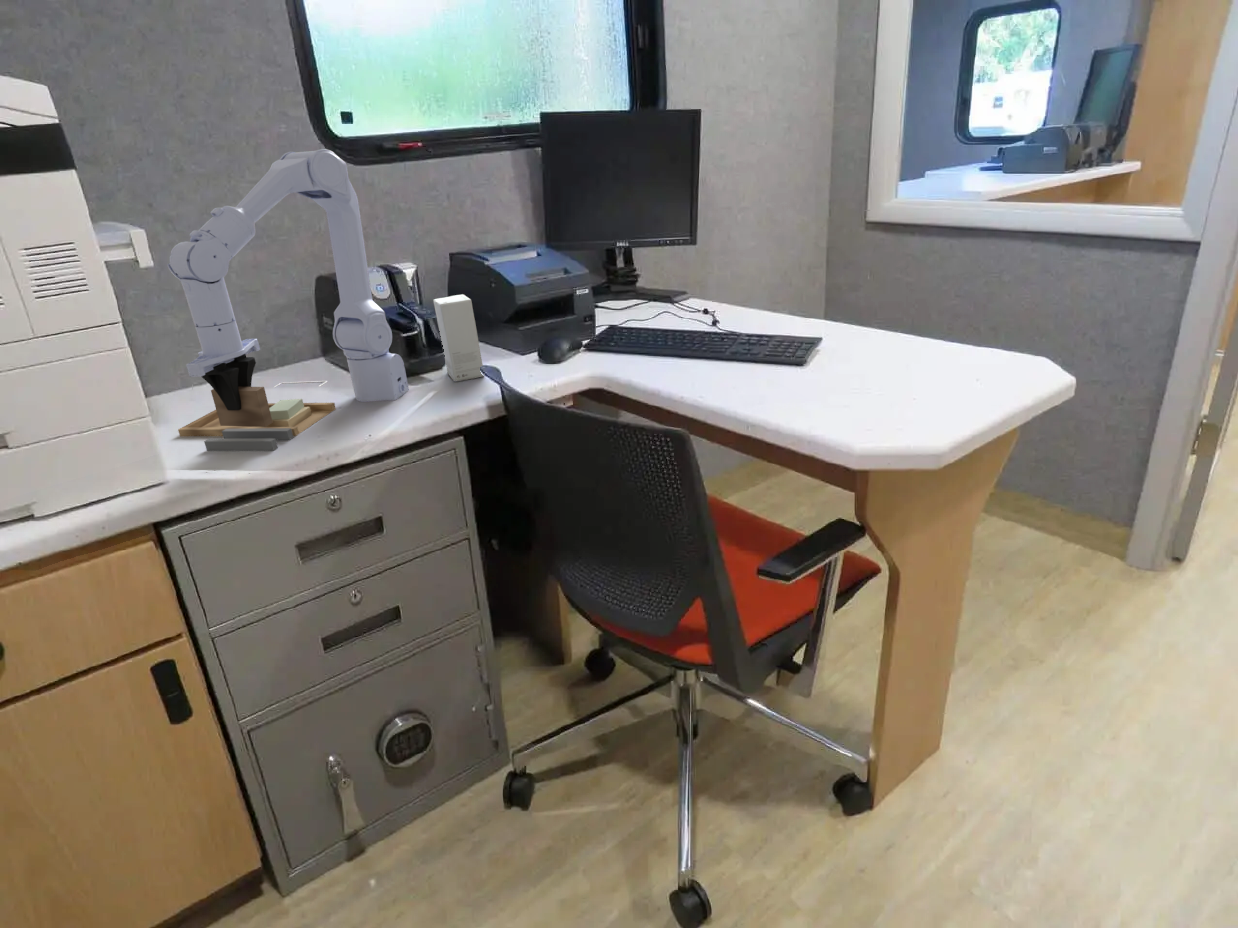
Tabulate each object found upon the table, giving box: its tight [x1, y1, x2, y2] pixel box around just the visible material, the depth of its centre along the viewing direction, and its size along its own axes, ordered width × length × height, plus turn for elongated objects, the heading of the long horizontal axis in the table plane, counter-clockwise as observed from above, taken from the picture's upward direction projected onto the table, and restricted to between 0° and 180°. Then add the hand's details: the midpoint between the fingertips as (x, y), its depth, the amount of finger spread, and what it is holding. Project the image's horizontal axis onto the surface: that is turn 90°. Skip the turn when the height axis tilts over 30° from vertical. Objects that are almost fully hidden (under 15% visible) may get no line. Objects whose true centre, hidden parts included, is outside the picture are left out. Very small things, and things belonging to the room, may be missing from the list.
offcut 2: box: [266, 407, 312, 427], centre depth 132 cm, size 5×7×2 cm
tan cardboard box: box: [210, 386, 273, 427], centre depth 121 cm, size 8×2×6 cm, turn 80°
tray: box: [177, 402, 337, 437], centre depth 134 cm, size 22×13×2 cm, turn 80°
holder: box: [203, 428, 294, 452], centre depth 124 cm, size 12×6×3 cm, turn 80°
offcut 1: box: [269, 398, 304, 420], centre depth 132 cm, size 4×6×2 cm, turn 178°
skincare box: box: [432, 293, 484, 382], centre depth 152 cm, size 8×7×16 cm
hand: (239, 406), depth 121 cm, fingers closed on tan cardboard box, 2 cm apart
